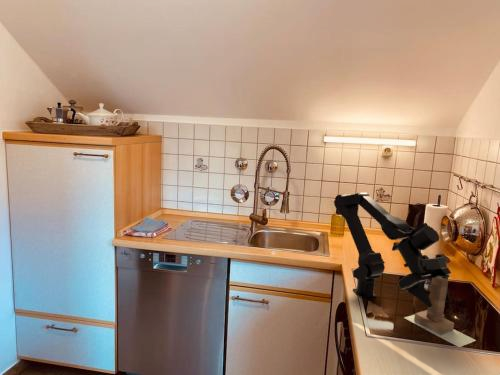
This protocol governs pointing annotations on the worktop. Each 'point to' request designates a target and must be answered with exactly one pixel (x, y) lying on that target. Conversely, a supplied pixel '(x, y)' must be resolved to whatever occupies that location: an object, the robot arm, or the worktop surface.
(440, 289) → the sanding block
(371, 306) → the shard
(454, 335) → the board
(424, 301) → the robot arm
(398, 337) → the worktop surface
